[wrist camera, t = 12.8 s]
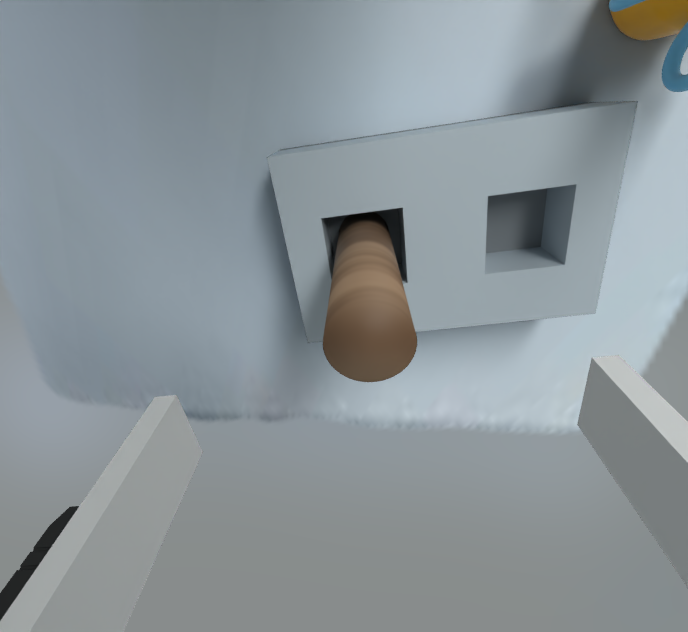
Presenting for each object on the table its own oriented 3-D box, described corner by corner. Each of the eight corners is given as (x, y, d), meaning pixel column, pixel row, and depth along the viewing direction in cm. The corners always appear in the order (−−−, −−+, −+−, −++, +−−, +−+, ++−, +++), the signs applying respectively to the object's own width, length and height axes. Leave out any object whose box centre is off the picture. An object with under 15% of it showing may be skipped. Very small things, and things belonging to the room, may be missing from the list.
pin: (335, 213, 29) (315, 308, 15) (386, 206, 29) (414, 297, 15) (342, 262, 31) (330, 385, 17) (391, 256, 31) (419, 377, 17)
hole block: (281, 149, 28) (266, 157, 24) (591, 102, 26) (637, 101, 22) (314, 313, 35) (307, 343, 31) (563, 286, 33) (595, 313, 28)
